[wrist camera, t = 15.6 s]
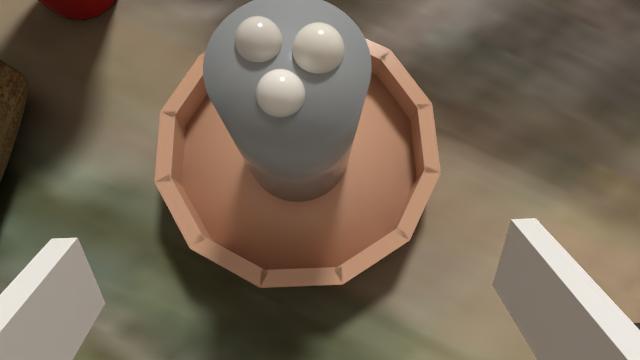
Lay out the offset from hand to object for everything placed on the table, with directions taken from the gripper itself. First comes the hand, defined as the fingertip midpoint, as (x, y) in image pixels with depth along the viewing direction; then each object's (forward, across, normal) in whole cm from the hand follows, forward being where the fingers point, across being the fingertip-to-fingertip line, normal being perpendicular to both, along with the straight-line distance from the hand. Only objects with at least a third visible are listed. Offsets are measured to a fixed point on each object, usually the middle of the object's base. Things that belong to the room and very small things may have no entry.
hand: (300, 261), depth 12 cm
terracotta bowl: (+16, 0, -4) cm, 16 cm away
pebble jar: (+15, 0, -3) cm, 15 cm away
